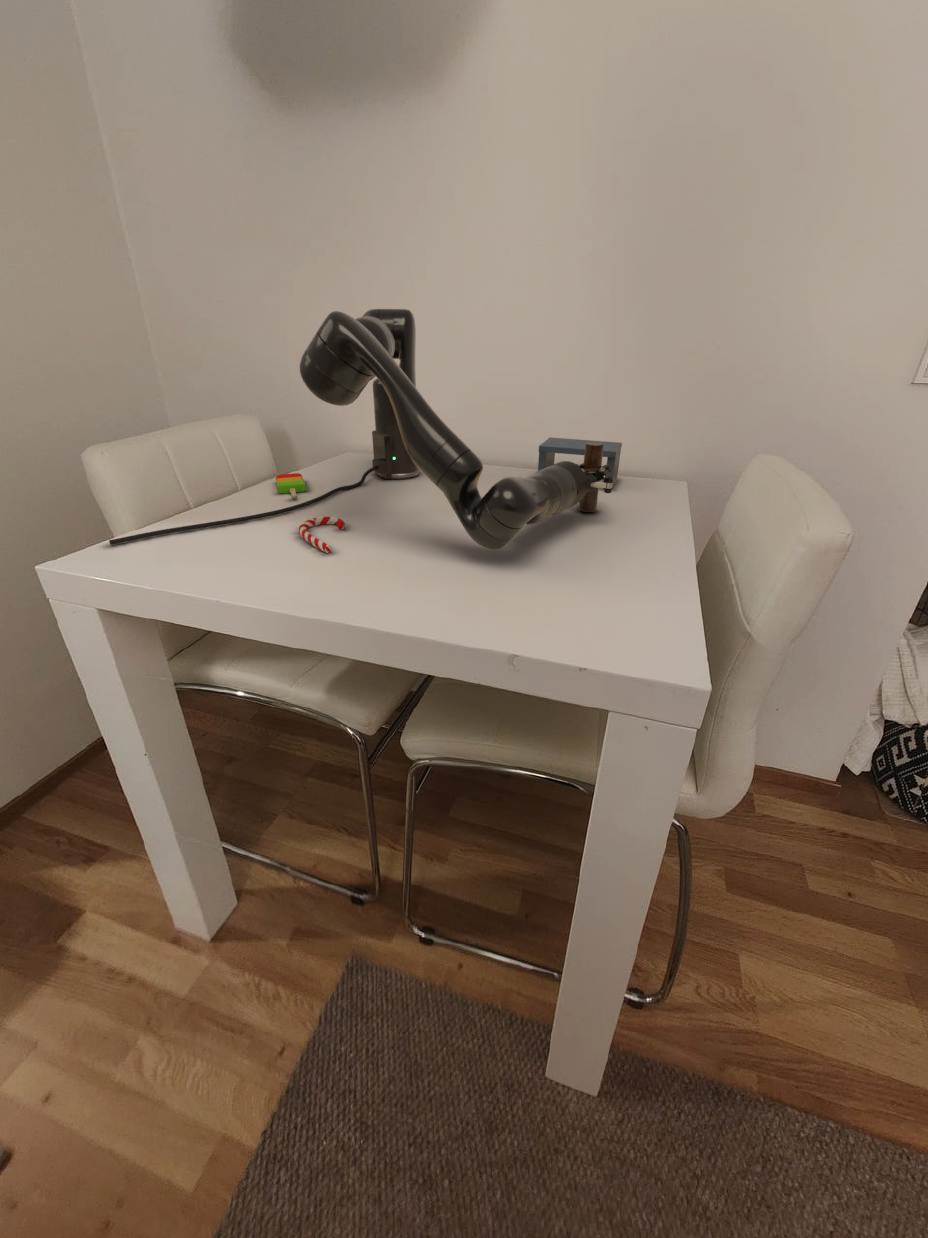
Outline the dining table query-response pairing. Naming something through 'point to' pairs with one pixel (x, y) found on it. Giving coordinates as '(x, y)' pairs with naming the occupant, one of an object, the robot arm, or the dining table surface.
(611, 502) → the dining table surface
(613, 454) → the shelf
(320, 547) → the candy cane
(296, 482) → the popsicle
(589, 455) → the stick
